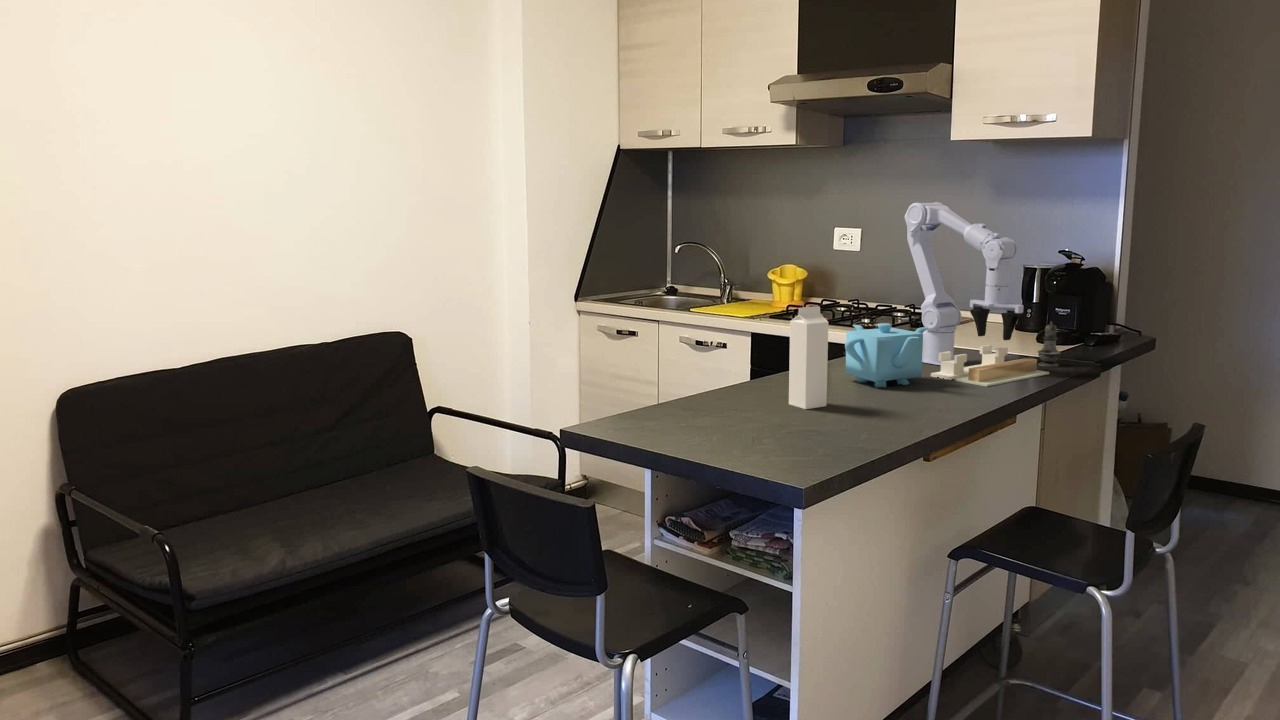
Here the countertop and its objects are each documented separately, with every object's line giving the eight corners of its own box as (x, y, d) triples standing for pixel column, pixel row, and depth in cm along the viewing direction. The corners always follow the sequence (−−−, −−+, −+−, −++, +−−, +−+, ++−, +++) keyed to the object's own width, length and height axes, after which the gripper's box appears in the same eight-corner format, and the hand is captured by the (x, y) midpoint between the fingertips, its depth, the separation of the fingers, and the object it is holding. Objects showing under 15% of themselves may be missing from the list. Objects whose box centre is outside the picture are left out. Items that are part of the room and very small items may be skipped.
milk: (826, 406, 213) (829, 307, 209) (805, 409, 210) (807, 309, 206) (808, 401, 218) (811, 304, 214) (787, 404, 216) (790, 306, 212)
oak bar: (968, 380, 238) (968, 368, 237) (1025, 369, 251) (1026, 357, 251) (978, 382, 235) (979, 370, 235) (1036, 370, 249) (1037, 359, 248)
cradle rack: (930, 376, 246) (931, 353, 245) (993, 364, 260) (994, 343, 259) (950, 379, 241) (951, 357, 240) (1012, 368, 255) (1014, 346, 254)
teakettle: (839, 387, 233) (841, 327, 231) (851, 373, 251) (852, 317, 248) (920, 392, 227) (923, 330, 224) (926, 377, 244) (929, 320, 242)
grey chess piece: (1056, 363, 262) (1059, 319, 260) (1063, 367, 256) (1066, 322, 254) (1033, 363, 263) (1036, 319, 260) (1040, 366, 257) (1043, 322, 255)
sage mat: (955, 380, 240) (955, 378, 239) (1017, 369, 254) (1018, 367, 254) (986, 386, 232) (986, 384, 232) (1049, 374, 247) (1049, 372, 247)
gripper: (963, 284, 250) (960, 335, 253) (1012, 289, 238) (1009, 343, 241) (980, 282, 254) (977, 333, 257) (1029, 287, 242) (1026, 340, 245)
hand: (994, 337), depth 249 cm, fingers open, 7 cm apart
